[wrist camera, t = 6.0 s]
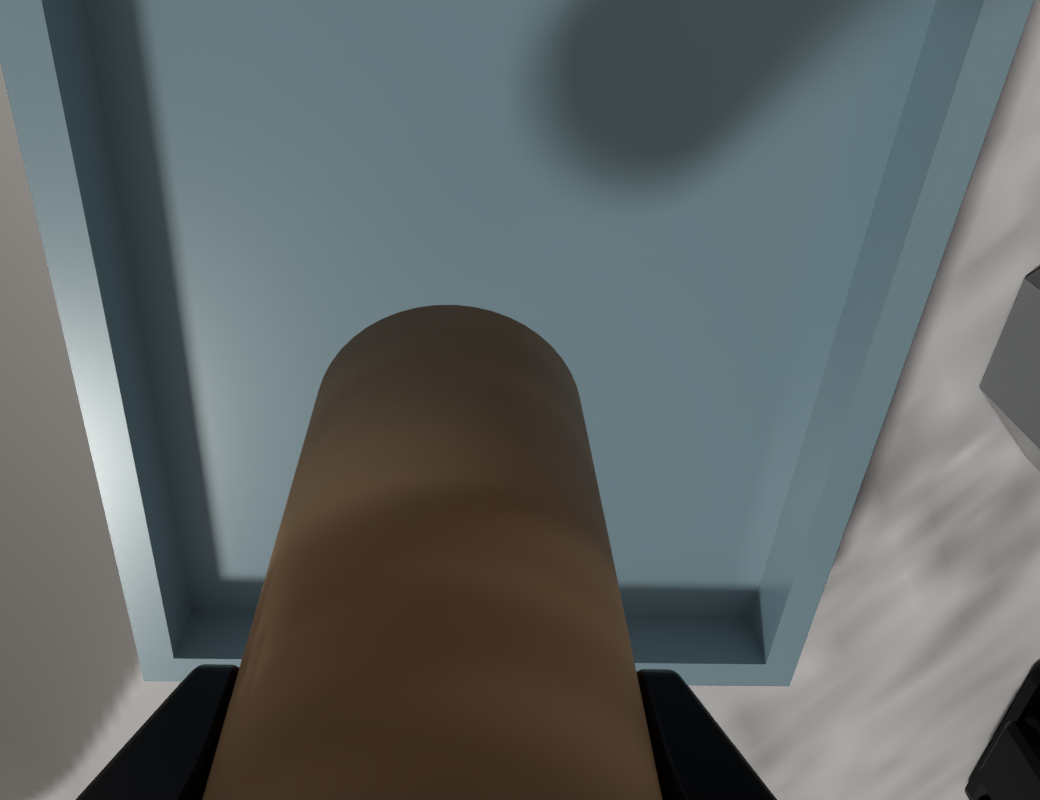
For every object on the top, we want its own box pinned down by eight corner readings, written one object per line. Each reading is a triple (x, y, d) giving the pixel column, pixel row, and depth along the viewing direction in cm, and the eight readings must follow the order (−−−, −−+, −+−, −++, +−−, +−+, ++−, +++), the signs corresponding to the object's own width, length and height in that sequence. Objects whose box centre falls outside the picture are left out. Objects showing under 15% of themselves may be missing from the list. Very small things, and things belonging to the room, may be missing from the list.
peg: (596, 311, 12) (759, 884, 5) (567, 529, 14) (656, 1138, 7) (307, 298, 12) (88, 890, 5) (321, 523, 14) (181, 1154, 7)
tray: (1041, -293, 14) (1148, -320, 11) (760, 613, 24) (789, 685, 22) (-21, -408, 12) (-122, -463, 10) (173, 604, 23) (143, 681, 21)
